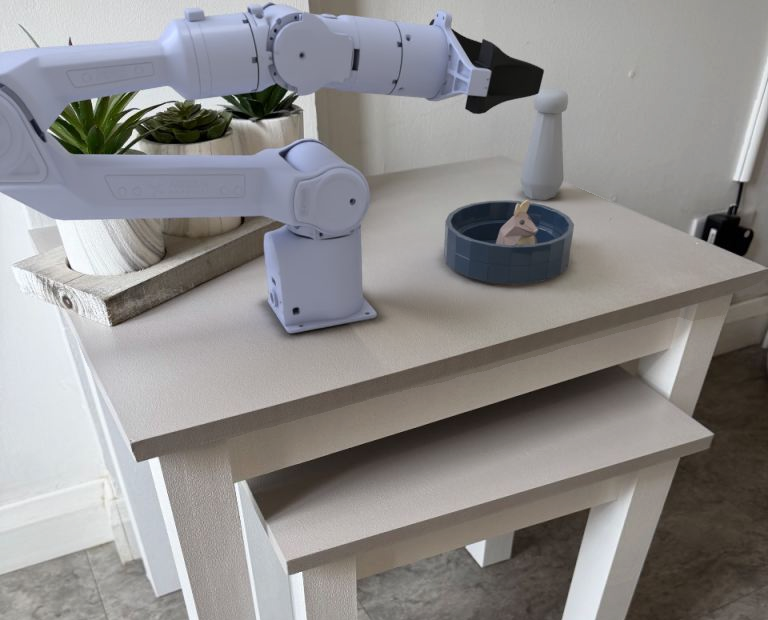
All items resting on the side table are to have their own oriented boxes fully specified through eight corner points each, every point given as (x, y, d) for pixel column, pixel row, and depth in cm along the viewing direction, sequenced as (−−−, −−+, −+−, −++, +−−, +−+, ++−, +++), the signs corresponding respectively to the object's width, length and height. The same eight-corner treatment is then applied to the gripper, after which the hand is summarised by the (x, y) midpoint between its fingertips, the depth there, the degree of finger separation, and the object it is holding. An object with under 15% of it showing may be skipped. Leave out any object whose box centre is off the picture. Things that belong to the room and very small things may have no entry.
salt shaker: (560, 203, 106) (574, 96, 97) (517, 200, 106) (528, 94, 98) (561, 189, 110) (575, 85, 102) (520, 186, 111) (530, 83, 102)
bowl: (478, 296, 84) (481, 255, 81) (424, 248, 94) (425, 210, 91) (592, 275, 88) (599, 235, 85) (528, 230, 98) (533, 194, 95)
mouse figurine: (494, 241, 95) (499, 184, 90) (547, 261, 90) (555, 201, 86) (465, 254, 92) (468, 195, 88) (518, 274, 87) (525, 213, 83)
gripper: (432, 21, 62) (572, 38, 67) (364, -9, 72) (491, 8, 77) (416, 118, 66) (549, 127, 72) (354, 77, 76) (475, 88, 82)
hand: (518, 71), depth 75 cm, fingers open, 7 cm apart
